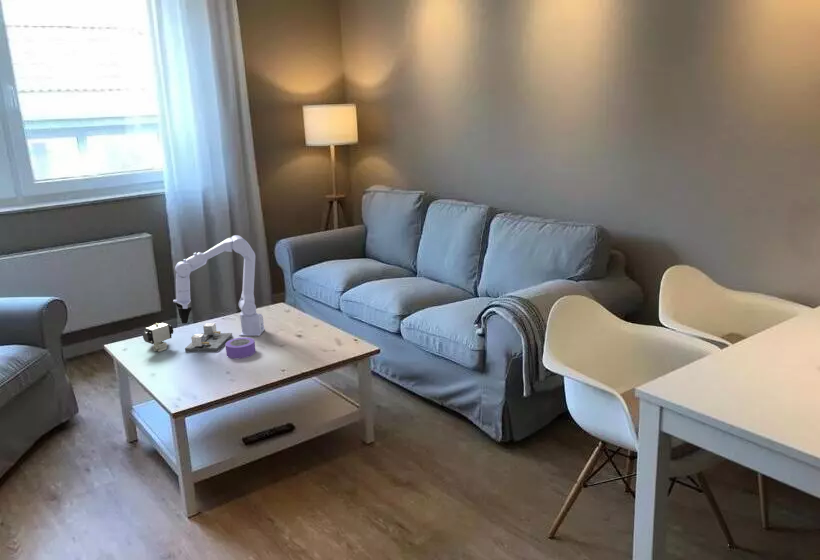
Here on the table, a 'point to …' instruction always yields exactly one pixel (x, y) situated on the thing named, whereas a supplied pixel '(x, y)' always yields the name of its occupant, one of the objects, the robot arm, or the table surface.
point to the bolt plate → (207, 342)
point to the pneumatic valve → (158, 335)
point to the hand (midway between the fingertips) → (183, 320)
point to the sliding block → (210, 329)
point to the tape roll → (240, 347)
